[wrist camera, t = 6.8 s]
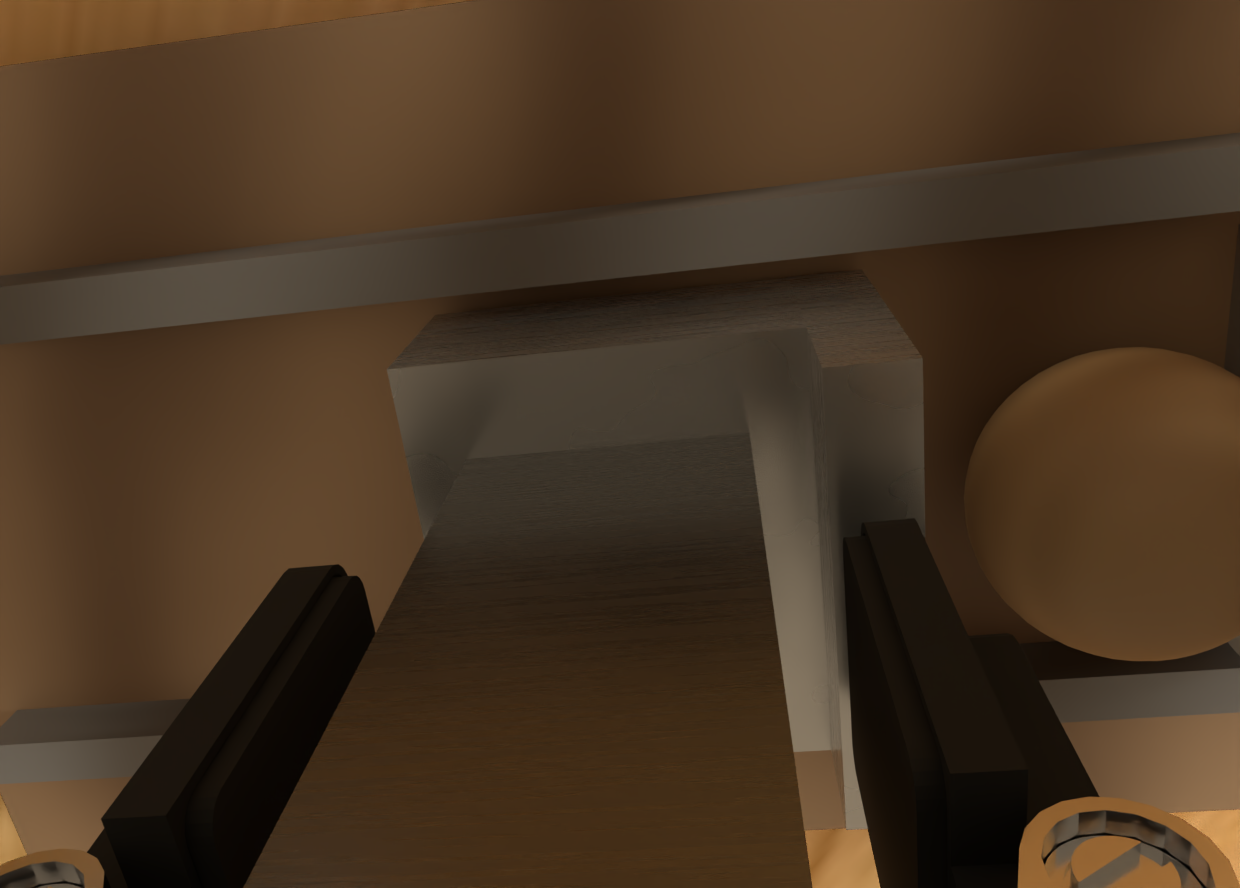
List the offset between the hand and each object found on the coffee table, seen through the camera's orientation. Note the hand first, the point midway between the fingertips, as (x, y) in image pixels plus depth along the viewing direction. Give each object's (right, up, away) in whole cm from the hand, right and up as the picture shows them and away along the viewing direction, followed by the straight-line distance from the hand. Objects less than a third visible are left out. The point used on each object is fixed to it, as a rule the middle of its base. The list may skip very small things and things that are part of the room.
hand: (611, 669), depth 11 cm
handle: (+1, +2, +4) cm, 5 cm away
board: (0, +2, +6) cm, 6 cm away
